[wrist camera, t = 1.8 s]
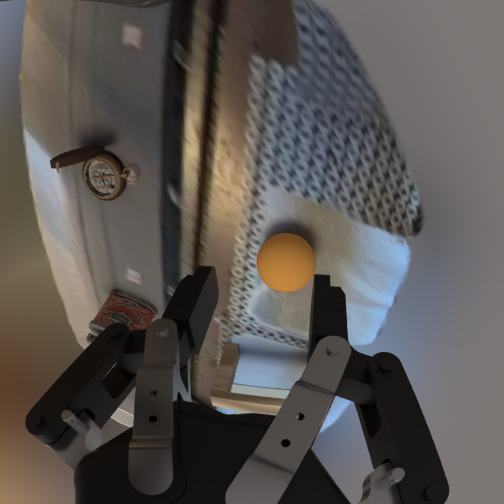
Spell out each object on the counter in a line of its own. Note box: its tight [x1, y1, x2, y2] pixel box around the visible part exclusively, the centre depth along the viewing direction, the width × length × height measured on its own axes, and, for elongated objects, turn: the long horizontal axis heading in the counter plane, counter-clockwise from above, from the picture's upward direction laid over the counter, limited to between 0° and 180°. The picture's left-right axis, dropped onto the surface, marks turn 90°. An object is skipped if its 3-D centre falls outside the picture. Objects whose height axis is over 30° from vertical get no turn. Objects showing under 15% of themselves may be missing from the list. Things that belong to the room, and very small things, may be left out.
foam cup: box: [111, 386, 136, 427], centre depth 50 cm, size 10×9×13 cm
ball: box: [257, 233, 316, 292], centre depth 31 cm, size 6×6×6 cm
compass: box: [50, 145, 137, 201], centre depth 29 cm, size 8×8×7 cm
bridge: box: [210, 343, 285, 415], centre depth 42 cm, size 3×15×10 cm, turn 93°
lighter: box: [86, 289, 157, 344], centre depth 41 cm, size 8×3×10 cm, turn 72°
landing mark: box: [231, 383, 290, 415], centre depth 56 cm, size 14×14×1 cm
